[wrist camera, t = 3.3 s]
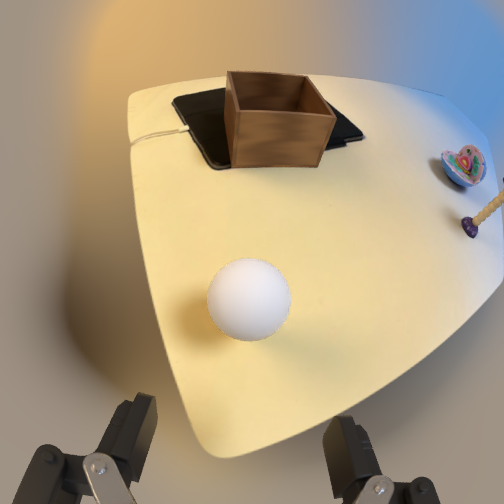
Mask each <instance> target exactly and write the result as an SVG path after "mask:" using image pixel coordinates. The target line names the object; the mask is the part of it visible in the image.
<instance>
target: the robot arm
mask: <svg viewBox="0 0 504 504" xmlns="http://www.w3.org/2000/svg"><path fill="white" fill-rule="evenodd" d="M156 408H157V407H156V399H155V396H151V395H147V394H144V393H140V392H139V393H138V394H137V395H136V397H135V399H134V402H131V401H128V400H125V401H124V402H123V403H121V404H120V405H119V406H118V407H117V409H116V411H115V413H114V415H113V417H112V419H111V421H110V424H109V425H108V427H107V429H106V431H105V433H104V436H103V437H102V440H101V442H100V444H99V446H98V448H97V449H96V451H95V452H93V453H91V454H89V455H86V456H77V455H70V454H64V453H62V452H61V450H60V449H58V448H57V447H55V446H53V445H50V444H45V445H42V446H40V447H39V448H38V449H37V450H36V452H35V454H34V456H33V458H32V460H31V462H30V464H29V466H28V468H27V470H26V472H25V475H24V477H23V479H22V481H21V484H20V486H19V488H18V491H17V493H16V495H15V498H14V500H13V503H12V504H80V502H81V498H82V495H88V496H94V498H95V500H96V503H97V504H137V503H136V501H135V499H134V497H133V496H132V494H131V492H130V490H129V487H130V484H131V481H135V482H139V479H140V476H141V473H142V470H143V466H144V463H145V460H146V457H147V454H148V451H149V448H150V444H151V441H152V438H153V435H154V432H155V429H156V425H157V419H158V416H157V409H156ZM323 448H324V453H325V457H326V462H327V466H328V471H329V476H330V481H331V485H332V490H333V495H334V499H337V498H343V503H342V504H440V501H439V498H438V496H437V493H436V490H435V487H434V485H433V482H432V481H431V480H430V479H428V478H426V477H418V478H416V479H414V480H413V481H412V482H411V483H404V482H403V483H401V482H393V481H392V480H391V479H390V478H388V477H386V476H384V475H383V474H382V473H381V470H380V467H379V464H378V462H377V459H376V456H375V453H374V451H373V449H372V445H371V443H370V440H369V437H368V435H367V432H366V431H365V430H364V429H363V428H362V426H360V425H355V423H354V420H353V417H352V416H351V415H343V416H334V418H333V419H332V421H331V423H330V424H329V426H328V428H327V430H326V432H325V433H324V436H323Z"/></svg>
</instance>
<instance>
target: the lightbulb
mask: <svg viewBox="0 0 504 504" xmlns="http://www.w3.org/2000/svg"><path fill="white" fill-rule="evenodd" d="M207 305H208V310H209V313H210V316H211V318H212V320H213V322H214V323H215V325H216V326H217V327H218V328H219V329H220V330H221V331H222V332H224V333H225V334H226V335H228V336H230V337H232V338H234V339H238V340H241V341H257V340H261V339H264V338H267V337H269V336H270V335H272V334H274V333H275V332H276V331H277V330H278V329H279V328H280V327H281V326H282V325H283V323H284V322H285V320H286V318H287V316H288V314H289V310H290V305H291V294H290V289H289V286H288V284H287V281H286V279H285V278H284V276H283V275H282V273H281V272H280V271H279V270H278V269H277V268H276V267H274V266H273V265H271V264H270V263H268V262H266V261H263V260H260V259H255V258H242V259H238V260H235V261H232V262H230V263H228V264H227V265H225V266H224V267H223V268H221V269H220V270H219V271H218V272H217V273H216V275H215V276H214V278H213V280H212V281H211V283H210V286H209V289H208V294H207Z"/></svg>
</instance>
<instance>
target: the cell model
mask: <svg viewBox="0 0 504 504" xmlns="http://www.w3.org/2000/svg"><path fill="white" fill-rule="evenodd" d="M441 161H442V165H443V168H444V170H445V172H446V174H447V175H448V176H449V178H450V179H451V180H453V181H454V182H455V183H457V184H459V185H461V186H465V187H471V186H475V185H477V184H479V183H480V182H481V181H482V180H483V179H484V177H485V175H486V162H485V159H484V157H483V155H482V153H481V152H480V150H479V149H478V148H477V147H475V146H474V145H466V146H464V147H463V148H462V149H461V150H460V151H459V153H458V154H456V153H454V152H452V151H449V150H444V151H442V156H441Z"/></svg>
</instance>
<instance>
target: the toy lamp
mask: <svg viewBox="0 0 504 504" xmlns="http://www.w3.org/2000/svg"><path fill="white" fill-rule="evenodd" d="M503 182H504V178H503ZM502 203H504V190H503V191H502V192H500V193H499V194H498V196H497V197H495V198H494V199H493V201H492V202H490V203H489V204H488V206H486V207H485V208H484V209H483V211H481V212H479V213H478V215H477V216H475V217H474V218H471V217H465V218H463V219H462V226H463V228H464V230H465V232H466V233H467V234H468V235H469V236H470V237H472V238H474V237H475V236H476V235H477V233H478V225H480V224H481V222H483V221H484V220H485V219H486V217H489V216H490V215H491V213H493V212H495V211H496V209H497V208H498V207H500V206H501V204H502Z"/></svg>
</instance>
